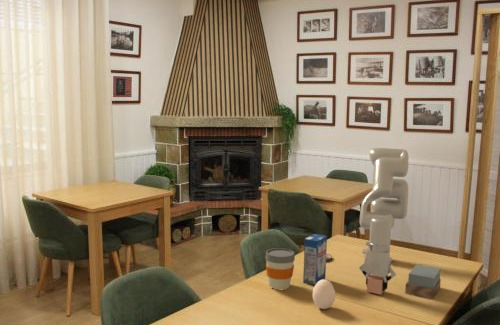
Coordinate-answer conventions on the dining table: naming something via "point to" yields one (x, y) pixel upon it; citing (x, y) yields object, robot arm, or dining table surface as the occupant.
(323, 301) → the egg
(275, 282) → the reusable coffee cup
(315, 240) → the milk carton
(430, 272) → the slate top block
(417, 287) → the walnut base block
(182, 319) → the dining table surface
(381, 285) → the terracotta block
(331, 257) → the burger
